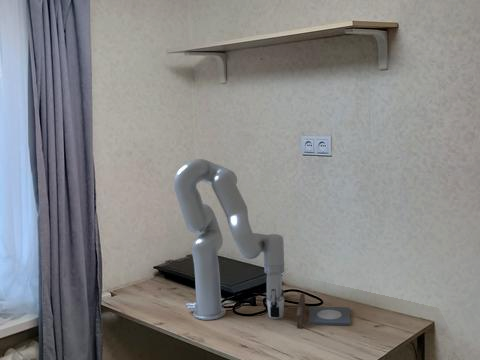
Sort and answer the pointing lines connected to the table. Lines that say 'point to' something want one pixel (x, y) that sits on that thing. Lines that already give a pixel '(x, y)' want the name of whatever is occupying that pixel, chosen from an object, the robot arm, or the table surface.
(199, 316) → the robot arm
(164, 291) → the table surface
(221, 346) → the table surface
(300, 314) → the divider wall
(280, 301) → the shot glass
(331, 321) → the mat
